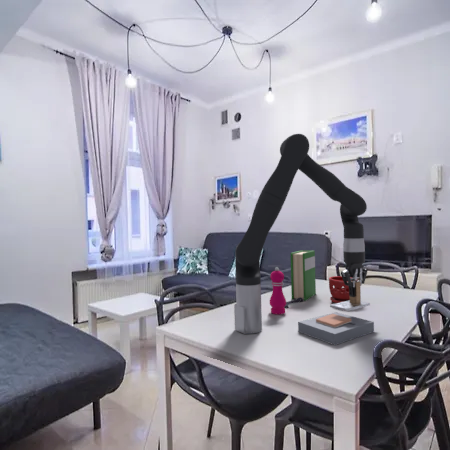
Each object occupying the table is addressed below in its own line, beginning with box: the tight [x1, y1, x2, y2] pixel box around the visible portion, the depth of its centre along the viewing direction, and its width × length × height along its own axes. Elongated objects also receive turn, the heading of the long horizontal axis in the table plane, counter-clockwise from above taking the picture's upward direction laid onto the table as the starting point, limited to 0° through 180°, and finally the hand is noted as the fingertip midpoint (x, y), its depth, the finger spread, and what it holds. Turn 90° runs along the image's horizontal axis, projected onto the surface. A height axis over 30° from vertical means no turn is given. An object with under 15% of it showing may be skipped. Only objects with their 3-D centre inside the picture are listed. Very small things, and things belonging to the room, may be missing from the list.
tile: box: [316, 313, 351, 328], centre depth 112 cm, size 9×8×1 cm
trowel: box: [329, 281, 371, 312], centre depth 118 cm, size 14×7×9 cm, turn 123°
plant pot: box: [328, 275, 352, 304], centre depth 154 cm, size 13×13×12 cm
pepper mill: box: [269, 266, 287, 315], centre depth 139 cm, size 7×7×20 cm
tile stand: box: [297, 311, 375, 346], centre depth 113 cm, size 21×16×4 cm
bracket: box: [284, 297, 304, 309], centre depth 156 cm, size 14×15×3 cm
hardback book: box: [290, 249, 317, 302], centre depth 169 cm, size 18×7×24 cm, turn 148°
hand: (354, 295), depth 119 cm, fingers closed on trowel, 2 cm apart
